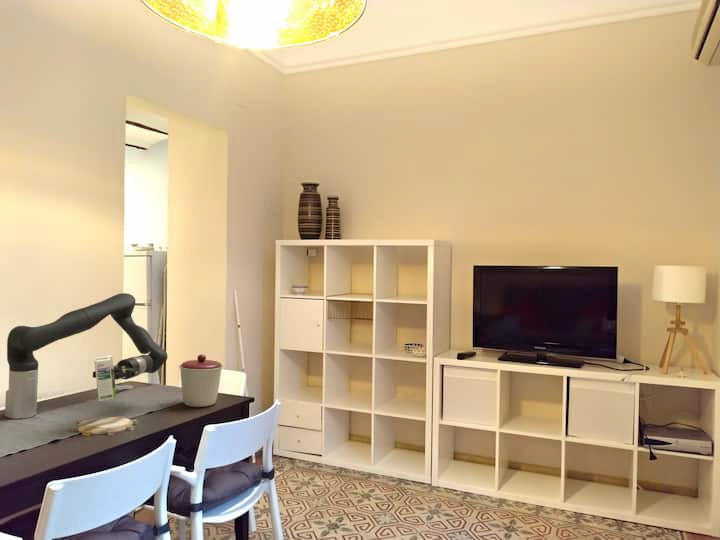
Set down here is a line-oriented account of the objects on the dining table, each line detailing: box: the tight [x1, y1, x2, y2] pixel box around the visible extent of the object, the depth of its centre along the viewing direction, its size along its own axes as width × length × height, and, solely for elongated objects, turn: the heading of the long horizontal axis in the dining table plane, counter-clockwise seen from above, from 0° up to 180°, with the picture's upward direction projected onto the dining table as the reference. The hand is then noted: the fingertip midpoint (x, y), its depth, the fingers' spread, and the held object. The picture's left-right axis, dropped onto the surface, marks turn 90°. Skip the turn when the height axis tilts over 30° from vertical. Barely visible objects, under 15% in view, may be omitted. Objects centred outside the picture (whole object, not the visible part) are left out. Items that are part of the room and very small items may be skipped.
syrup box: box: [93, 354, 117, 402], centre depth 195 cm, size 6×6×14 cm
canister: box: [178, 354, 224, 408], centre depth 233 cm, size 18×18×21 cm
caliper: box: [115, 384, 135, 391], centre depth 248 cm, size 20×1×6 cm, turn 170°
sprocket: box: [70, 415, 139, 437], centre depth 197 cm, size 22×22×1 cm
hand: (104, 375), depth 195 cm, fingers closed on syrup box, 8 cm apart
